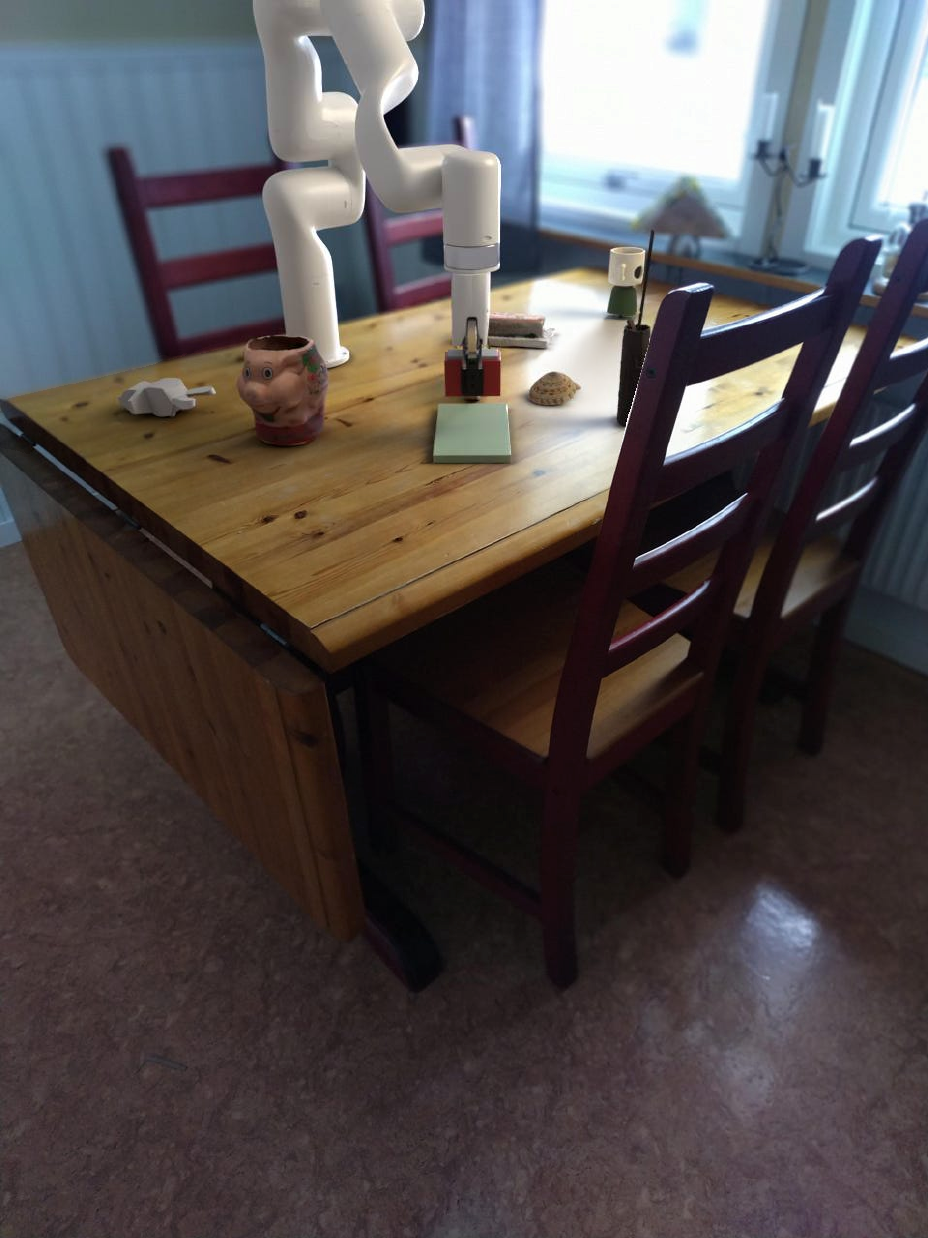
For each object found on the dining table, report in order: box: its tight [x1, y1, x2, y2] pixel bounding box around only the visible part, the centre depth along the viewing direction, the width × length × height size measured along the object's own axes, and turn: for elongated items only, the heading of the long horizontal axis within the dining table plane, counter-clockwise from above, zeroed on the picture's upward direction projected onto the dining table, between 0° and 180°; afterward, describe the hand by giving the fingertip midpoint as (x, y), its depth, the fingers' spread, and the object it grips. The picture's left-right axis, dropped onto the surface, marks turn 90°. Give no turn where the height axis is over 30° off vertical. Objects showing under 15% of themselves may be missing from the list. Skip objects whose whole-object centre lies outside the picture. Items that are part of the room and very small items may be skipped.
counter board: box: [432, 403, 512, 464], centre depth 128 cm, size 11×20×1 cm, turn 179°
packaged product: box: [488, 311, 555, 349], centre depth 166 cm, size 18×5×10 cm
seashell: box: [527, 371, 582, 406], centre depth 141 cm, size 8×6×8 cm
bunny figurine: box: [117, 377, 217, 418], centre depth 136 cm, size 10×5×15 cm
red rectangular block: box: [443, 348, 502, 398], centre depth 123 cm, size 4×8×6 cm, turn 89°
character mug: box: [606, 246, 646, 318], centre depth 177 cm, size 11×7×13 cm, turn 161°
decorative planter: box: [236, 334, 330, 446], centre depth 127 cm, size 20×12×14 cm, turn 168°
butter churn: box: [616, 229, 655, 428], centre depth 125 cm, size 9×10×28 cm
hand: (472, 387), depth 124 cm, fingers closed on red rectangular block, 4 cm apart
